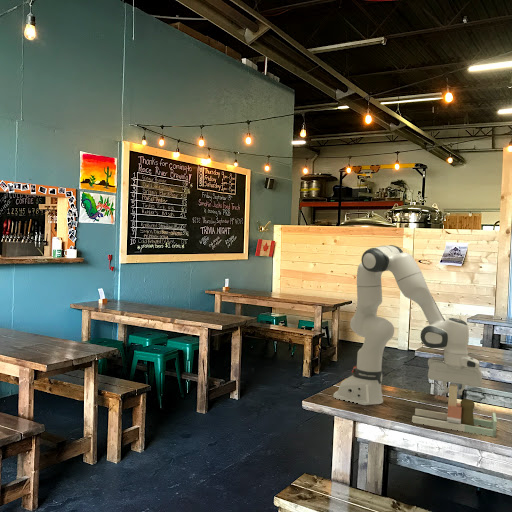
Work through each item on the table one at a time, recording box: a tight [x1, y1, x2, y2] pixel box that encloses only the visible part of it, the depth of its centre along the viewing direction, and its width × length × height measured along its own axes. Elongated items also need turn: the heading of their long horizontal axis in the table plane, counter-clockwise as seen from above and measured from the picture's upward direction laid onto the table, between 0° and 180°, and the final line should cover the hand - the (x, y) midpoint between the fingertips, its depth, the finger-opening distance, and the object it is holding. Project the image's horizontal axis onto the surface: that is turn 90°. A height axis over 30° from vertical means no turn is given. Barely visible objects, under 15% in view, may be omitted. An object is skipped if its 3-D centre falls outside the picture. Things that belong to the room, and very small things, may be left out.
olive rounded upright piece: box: [459, 398, 476, 426], centre depth 199 cm, size 6×6×11 cm
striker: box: [446, 383, 462, 424], centre depth 201 cm, size 5×13×16 cm, turn 157°
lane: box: [411, 407, 498, 438], centre depth 201 cm, size 30×12×6 cm, turn 67°
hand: (453, 393), depth 200 cm, fingers open, 3 cm apart
